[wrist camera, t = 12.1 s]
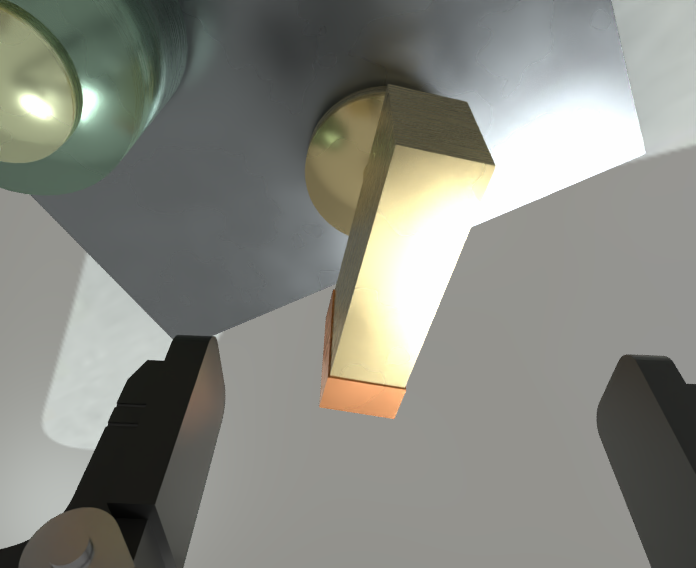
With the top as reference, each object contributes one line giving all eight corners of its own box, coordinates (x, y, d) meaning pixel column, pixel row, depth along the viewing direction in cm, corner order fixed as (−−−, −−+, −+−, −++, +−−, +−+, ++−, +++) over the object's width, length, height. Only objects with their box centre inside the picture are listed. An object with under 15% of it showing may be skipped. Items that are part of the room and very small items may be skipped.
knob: (330, 28, 16) (312, 128, 10) (496, 67, 17) (573, 184, 11) (290, 241, 21) (262, 398, 15) (423, 267, 21) (447, 426, 15)
